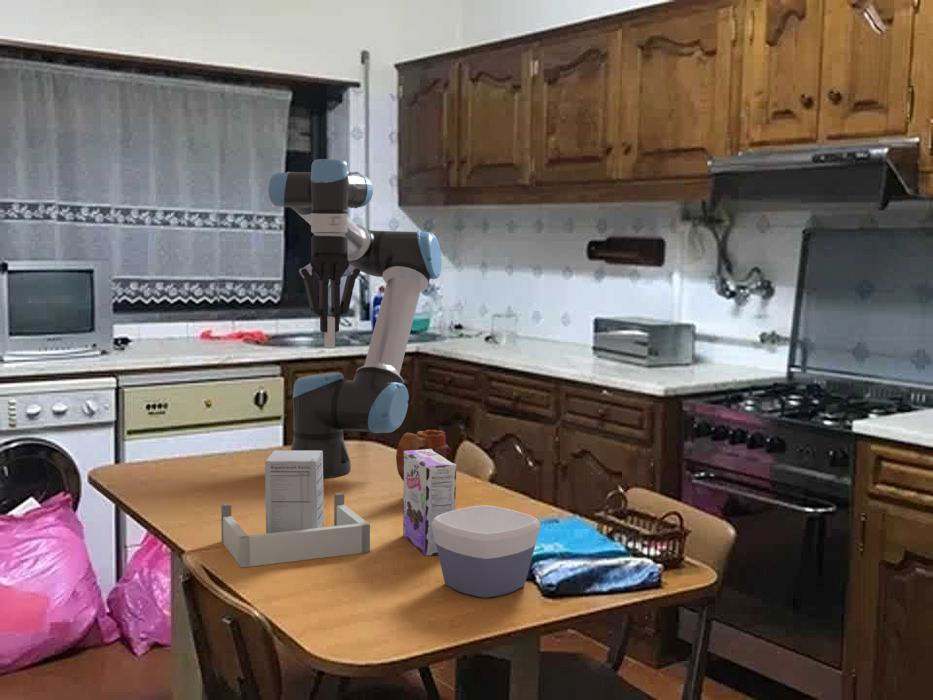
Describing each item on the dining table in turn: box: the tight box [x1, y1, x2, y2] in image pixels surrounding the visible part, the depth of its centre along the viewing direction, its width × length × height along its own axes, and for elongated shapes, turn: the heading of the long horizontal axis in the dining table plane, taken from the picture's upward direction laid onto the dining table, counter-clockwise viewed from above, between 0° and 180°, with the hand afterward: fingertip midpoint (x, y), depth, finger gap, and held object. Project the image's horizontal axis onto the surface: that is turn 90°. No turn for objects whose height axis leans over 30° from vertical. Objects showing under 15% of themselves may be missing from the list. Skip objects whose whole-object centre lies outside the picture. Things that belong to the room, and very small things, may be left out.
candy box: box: [402, 449, 457, 557], centre depth 191 cm, size 14×6×16 cm, turn 21°
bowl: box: [431, 504, 541, 599], centre depth 169 cm, size 15×15×11 cm
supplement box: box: [264, 450, 325, 534], centre depth 188 cm, size 10×9×17 cm
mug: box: [395, 429, 452, 482], centre depth 222 cm, size 15×8×15 cm, turn 141°
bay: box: [220, 492, 371, 568], centre depth 188 cm, size 16×23×7 cm
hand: (329, 347), depth 219 cm, fingers closed
